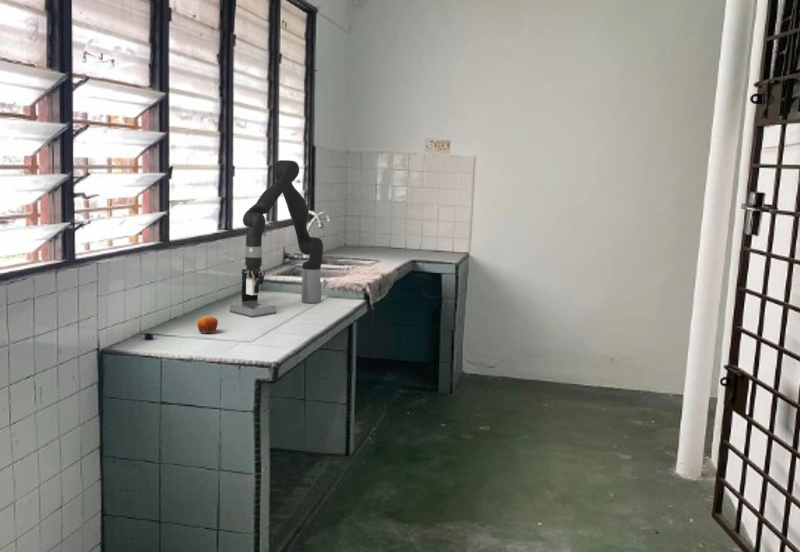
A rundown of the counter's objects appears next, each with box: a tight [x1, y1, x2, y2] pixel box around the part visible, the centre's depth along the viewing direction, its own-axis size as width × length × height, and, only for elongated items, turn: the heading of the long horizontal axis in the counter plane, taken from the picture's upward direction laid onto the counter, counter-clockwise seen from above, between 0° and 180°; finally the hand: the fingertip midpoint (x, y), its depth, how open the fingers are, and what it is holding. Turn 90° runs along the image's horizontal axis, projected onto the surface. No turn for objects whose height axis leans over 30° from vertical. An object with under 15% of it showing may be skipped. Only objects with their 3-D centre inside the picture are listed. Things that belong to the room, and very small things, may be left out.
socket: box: [229, 300, 277, 319], centre depth 335 cm, size 14×16×5 cm
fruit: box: [196, 315, 219, 335], centre depth 293 cm, size 8×8×8 cm
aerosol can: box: [241, 273, 259, 302], centre depth 354 cm, size 8×8×20 cm
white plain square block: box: [246, 278, 261, 295], centre depth 334 cm, size 4×4×7 cm
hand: (253, 292), depth 334 cm, fingers closed on white plain square block, 4 cm apart
